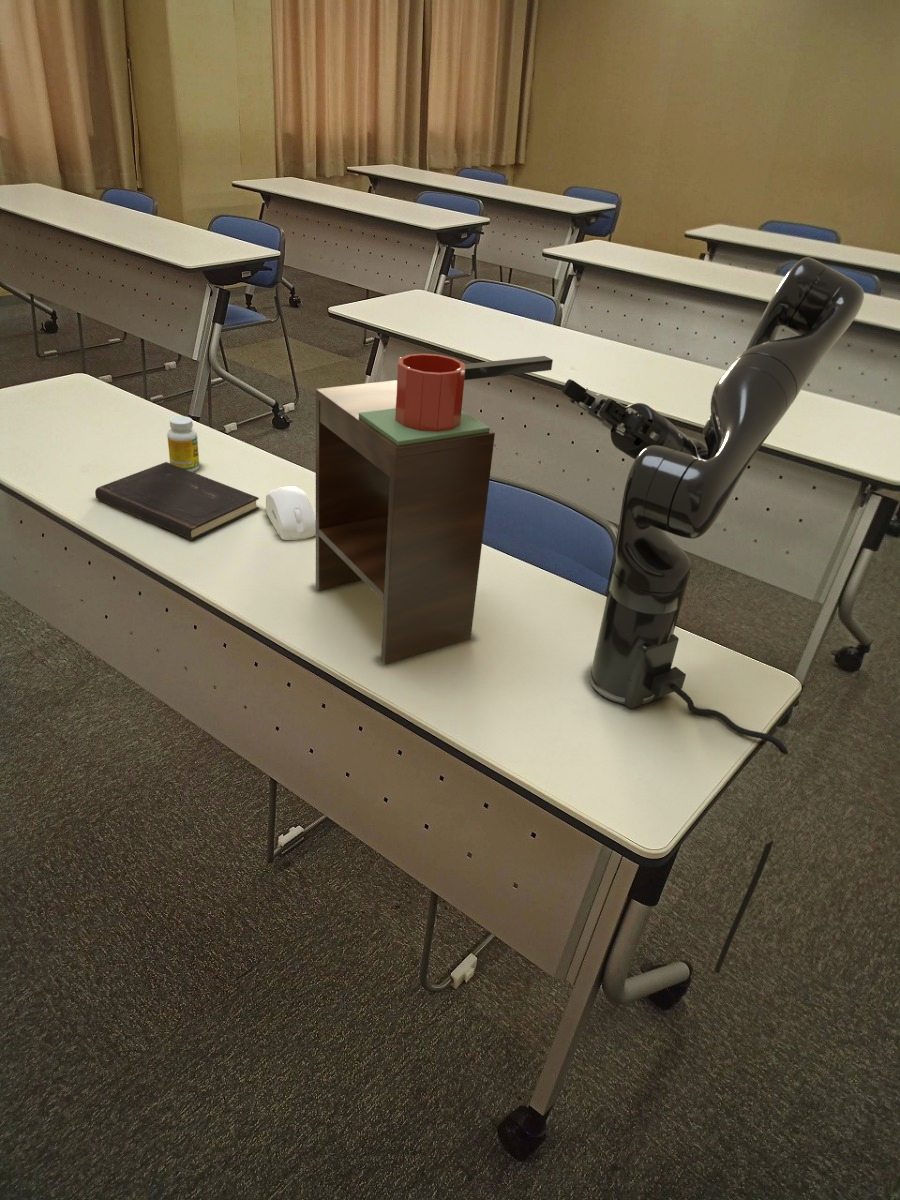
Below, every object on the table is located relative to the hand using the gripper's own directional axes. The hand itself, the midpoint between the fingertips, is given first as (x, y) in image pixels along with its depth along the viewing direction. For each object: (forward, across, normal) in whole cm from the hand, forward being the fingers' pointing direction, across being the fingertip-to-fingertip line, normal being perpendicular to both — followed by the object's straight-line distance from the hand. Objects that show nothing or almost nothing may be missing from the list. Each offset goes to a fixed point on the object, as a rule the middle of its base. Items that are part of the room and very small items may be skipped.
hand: (585, 395), depth 117 cm
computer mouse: (+8, -37, +42) cm, 57 cm away
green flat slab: (+22, 0, +14) cm, 26 cm away
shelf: (+7, -5, +41) cm, 42 cm away
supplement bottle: (+16, -66, +46) cm, 83 cm away
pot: (+16, 0, +10) cm, 19 cm away
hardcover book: (+21, -51, +49) cm, 74 cm away
